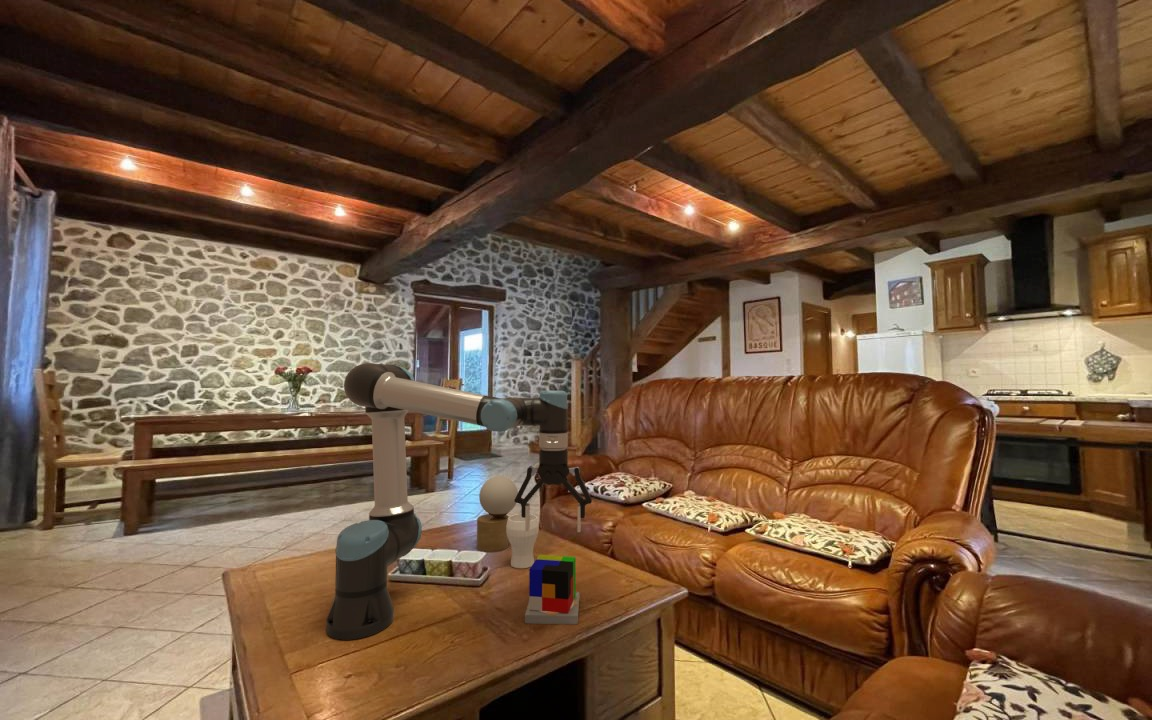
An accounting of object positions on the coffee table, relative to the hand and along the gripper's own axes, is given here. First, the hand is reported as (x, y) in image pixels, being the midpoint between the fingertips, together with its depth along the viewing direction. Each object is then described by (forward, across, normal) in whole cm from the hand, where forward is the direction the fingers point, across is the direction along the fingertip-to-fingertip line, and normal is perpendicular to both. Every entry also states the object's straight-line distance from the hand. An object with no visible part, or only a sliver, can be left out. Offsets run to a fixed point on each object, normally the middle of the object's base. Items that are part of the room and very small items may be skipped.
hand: (553, 530), depth 120 cm
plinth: (+20, 0, 0) cm, 21 cm away
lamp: (+21, -25, +48) cm, 58 cm away
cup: (+21, -13, +31) cm, 39 cm away
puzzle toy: (+18, 0, 0) cm, 19 cm away
